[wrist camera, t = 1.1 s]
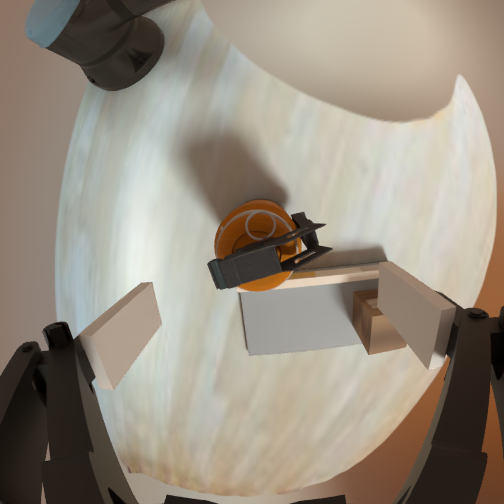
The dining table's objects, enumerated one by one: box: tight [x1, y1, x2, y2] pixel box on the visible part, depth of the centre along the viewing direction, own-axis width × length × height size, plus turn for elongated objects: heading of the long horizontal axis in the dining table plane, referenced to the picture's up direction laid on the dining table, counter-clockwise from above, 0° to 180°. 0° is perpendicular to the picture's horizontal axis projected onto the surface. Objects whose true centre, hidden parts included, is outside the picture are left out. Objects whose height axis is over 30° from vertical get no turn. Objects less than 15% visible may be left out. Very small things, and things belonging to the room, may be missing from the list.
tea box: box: [352, 288, 407, 355], centre depth 37 cm, size 6×6×9 cm
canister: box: [207, 199, 333, 292], centre depth 31 cm, size 9×11×20 cm
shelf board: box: [237, 261, 389, 356], centre depth 41 cm, size 14×24×4 cm, turn 96°
